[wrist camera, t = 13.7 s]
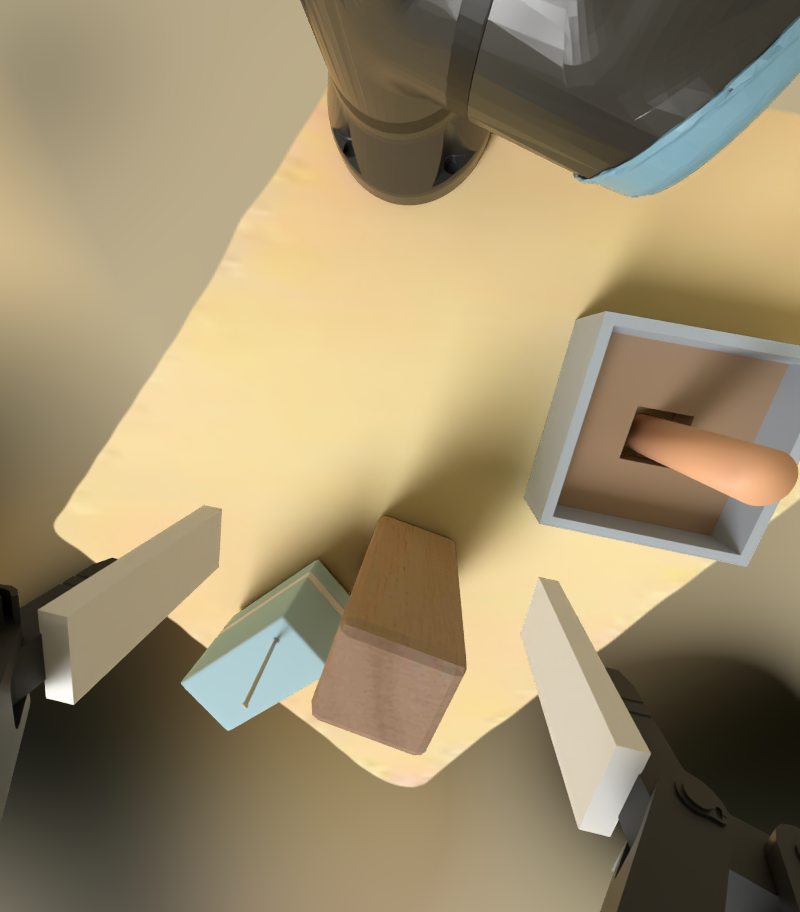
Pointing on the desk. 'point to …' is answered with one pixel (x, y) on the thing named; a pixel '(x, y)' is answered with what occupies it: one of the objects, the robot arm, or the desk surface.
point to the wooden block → (397, 641)
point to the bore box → (694, 403)
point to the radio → (270, 648)
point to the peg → (716, 459)
